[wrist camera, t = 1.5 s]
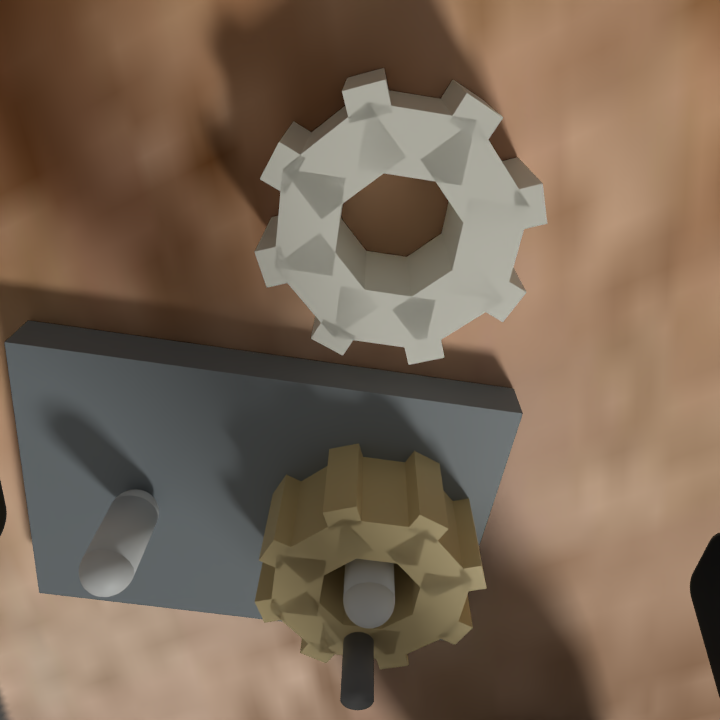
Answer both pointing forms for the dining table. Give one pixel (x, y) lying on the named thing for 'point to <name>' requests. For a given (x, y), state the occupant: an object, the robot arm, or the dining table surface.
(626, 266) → the dining table surface
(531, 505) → the dining table surface
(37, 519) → the gear board
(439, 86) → the dining table surface
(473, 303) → the loose gear
